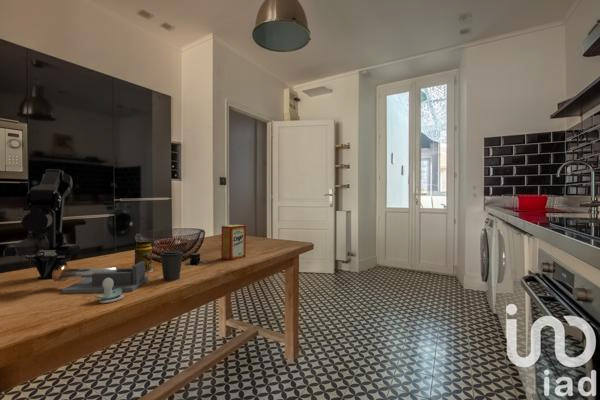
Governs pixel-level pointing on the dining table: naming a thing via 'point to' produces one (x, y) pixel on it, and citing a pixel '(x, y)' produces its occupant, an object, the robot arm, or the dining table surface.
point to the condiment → (144, 254)
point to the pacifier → (109, 292)
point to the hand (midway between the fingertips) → (43, 276)
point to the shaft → (77, 272)
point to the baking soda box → (233, 242)
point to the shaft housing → (122, 279)
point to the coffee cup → (171, 264)
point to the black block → (195, 259)
